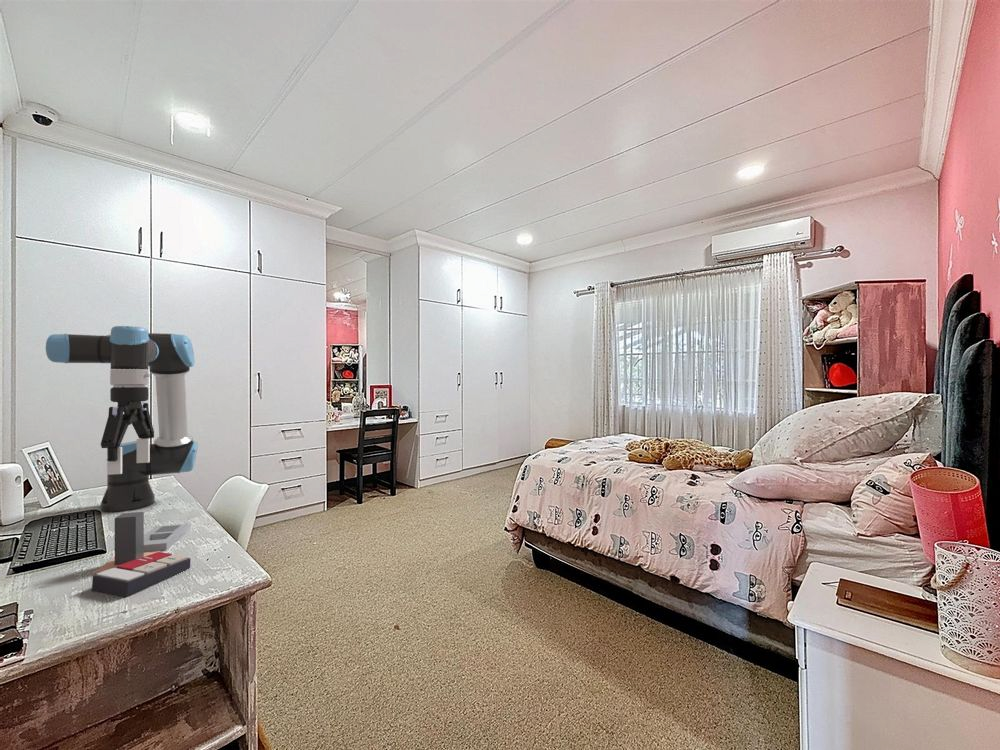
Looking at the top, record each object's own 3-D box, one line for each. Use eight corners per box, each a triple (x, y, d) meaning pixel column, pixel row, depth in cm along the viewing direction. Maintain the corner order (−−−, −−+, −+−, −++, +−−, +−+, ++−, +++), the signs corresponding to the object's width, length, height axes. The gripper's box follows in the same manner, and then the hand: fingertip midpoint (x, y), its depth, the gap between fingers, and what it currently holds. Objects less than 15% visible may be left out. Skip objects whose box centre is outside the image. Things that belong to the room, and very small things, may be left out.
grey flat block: (156, 532, 134) (156, 525, 134) (190, 529, 136) (190, 523, 136) (127, 553, 118) (127, 546, 118) (166, 550, 121) (166, 542, 121)
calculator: (191, 555, 110) (126, 579, 96) (190, 572, 110) (125, 598, 96) (159, 549, 113) (91, 572, 99) (158, 566, 113) (90, 591, 99)
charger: (123, 558, 114) (123, 513, 114) (143, 556, 115) (143, 511, 115) (114, 565, 110) (114, 518, 110) (135, 563, 111) (135, 516, 111)
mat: (117, 557, 116) (117, 555, 116) (161, 553, 119) (161, 551, 119) (93, 574, 106) (93, 571, 106) (142, 569, 109) (142, 567, 109)
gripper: (120, 388, 101) (120, 478, 102) (168, 384, 125) (168, 457, 126) (80, 388, 99) (80, 480, 100) (137, 384, 123) (137, 459, 124)
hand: (129, 468), depth 113 cm, fingers open, 13 cm apart
